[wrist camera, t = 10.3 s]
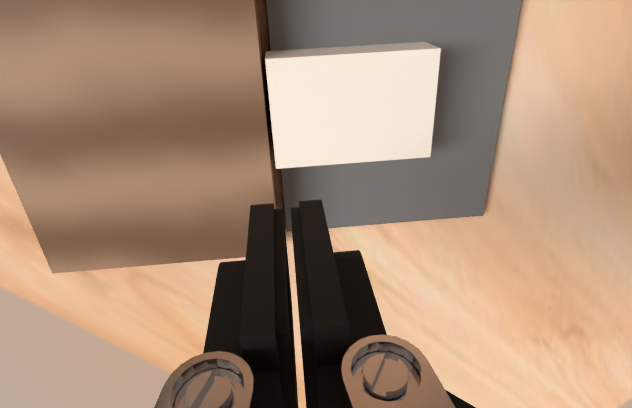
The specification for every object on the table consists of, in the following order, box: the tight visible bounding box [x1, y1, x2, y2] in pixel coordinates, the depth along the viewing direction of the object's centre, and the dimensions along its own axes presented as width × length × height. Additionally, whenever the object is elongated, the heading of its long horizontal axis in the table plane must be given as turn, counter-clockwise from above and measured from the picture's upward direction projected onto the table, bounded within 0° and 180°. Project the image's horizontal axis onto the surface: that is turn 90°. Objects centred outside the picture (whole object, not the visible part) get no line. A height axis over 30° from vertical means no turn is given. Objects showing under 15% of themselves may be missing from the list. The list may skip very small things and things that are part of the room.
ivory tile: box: [265, 42, 441, 169], centre depth 23 cm, size 6×9×2 cm, turn 92°
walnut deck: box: [0, 0, 277, 273], centre depth 23 cm, size 18×14×3 cm
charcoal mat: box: [266, 0, 522, 231], centre depth 25 cm, size 18×14×1 cm
